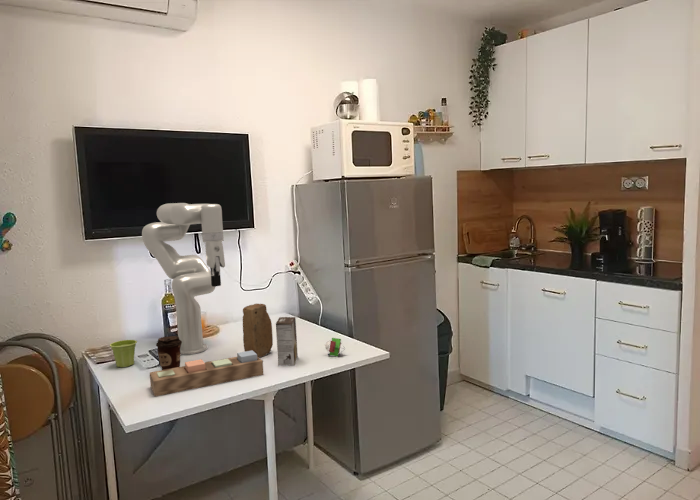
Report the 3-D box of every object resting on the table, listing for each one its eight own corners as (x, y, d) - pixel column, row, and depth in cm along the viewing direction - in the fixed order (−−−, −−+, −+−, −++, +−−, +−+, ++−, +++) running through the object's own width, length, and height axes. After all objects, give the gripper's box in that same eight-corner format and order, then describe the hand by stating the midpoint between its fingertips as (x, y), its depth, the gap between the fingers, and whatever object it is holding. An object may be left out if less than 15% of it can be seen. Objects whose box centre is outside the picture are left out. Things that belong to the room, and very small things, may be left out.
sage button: (216, 377, 178) (215, 365, 178) (212, 372, 183) (211, 361, 183) (232, 374, 181) (232, 362, 180) (228, 369, 186) (227, 358, 185)
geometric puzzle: (336, 344, 209) (328, 332, 204) (350, 347, 205) (342, 334, 200) (327, 359, 205) (319, 346, 200) (342, 362, 201) (333, 349, 196)
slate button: (242, 368, 182) (241, 357, 182) (237, 363, 187) (237, 352, 187) (257, 365, 185) (257, 354, 184) (252, 361, 190) (252, 350, 189)
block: (254, 359, 201) (251, 308, 198) (242, 356, 205) (239, 306, 203) (276, 352, 209) (273, 303, 207) (263, 349, 214) (260, 301, 211)
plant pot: (112, 363, 203) (110, 341, 202) (138, 359, 206) (136, 338, 205) (111, 370, 194) (109, 348, 193) (138, 366, 198) (137, 344, 197)
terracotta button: (188, 378, 174) (188, 366, 174) (185, 373, 179) (184, 362, 178) (206, 375, 177) (205, 363, 176) (202, 370, 181) (201, 359, 181)
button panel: (154, 396, 167) (153, 380, 167) (150, 386, 176) (149, 371, 175) (263, 374, 184) (262, 360, 183) (254, 366, 192) (253, 352, 192)
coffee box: (281, 358, 202) (279, 316, 200) (298, 357, 201) (296, 316, 200) (277, 366, 192) (275, 323, 191) (294, 365, 192) (292, 322, 190)
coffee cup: (168, 378, 183) (165, 342, 182) (153, 375, 188) (150, 339, 186) (188, 371, 191) (185, 336, 189) (172, 367, 195) (170, 333, 194)
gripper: (228, 237, 191) (231, 287, 193) (218, 235, 204) (221, 282, 206) (207, 239, 187) (210, 290, 189) (198, 236, 201) (201, 284, 203)
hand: (216, 285), depth 198 cm, fingers closed
